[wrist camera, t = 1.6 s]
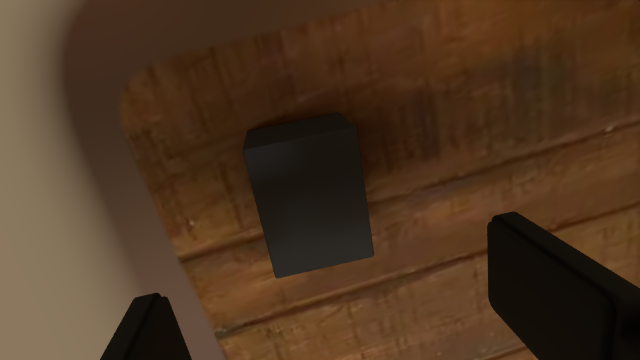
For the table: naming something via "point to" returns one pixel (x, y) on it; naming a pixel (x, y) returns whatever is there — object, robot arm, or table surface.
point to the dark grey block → (309, 193)
